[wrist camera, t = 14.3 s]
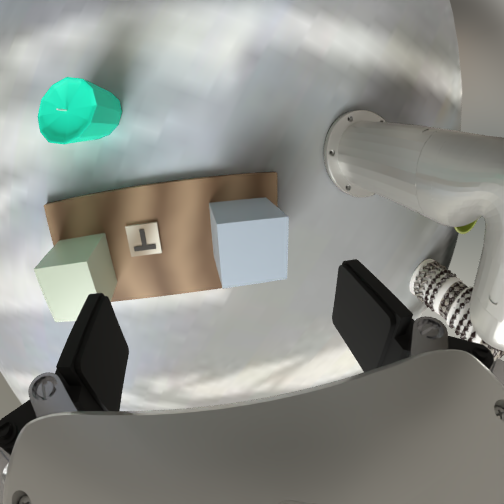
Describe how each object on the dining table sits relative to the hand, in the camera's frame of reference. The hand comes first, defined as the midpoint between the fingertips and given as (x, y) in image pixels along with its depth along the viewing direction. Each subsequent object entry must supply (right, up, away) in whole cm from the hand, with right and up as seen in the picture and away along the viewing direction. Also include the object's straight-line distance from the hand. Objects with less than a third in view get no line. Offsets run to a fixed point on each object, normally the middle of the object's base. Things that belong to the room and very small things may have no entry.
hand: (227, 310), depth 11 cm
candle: (-17, +18, +15) cm, 29 cm away
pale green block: (-20, +1, +21) cm, 29 cm away
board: (-11, +4, +24) cm, 26 cm away
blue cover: (-1, +5, +24) cm, 25 cm away
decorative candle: (+36, -3, +39) cm, 54 cm away
